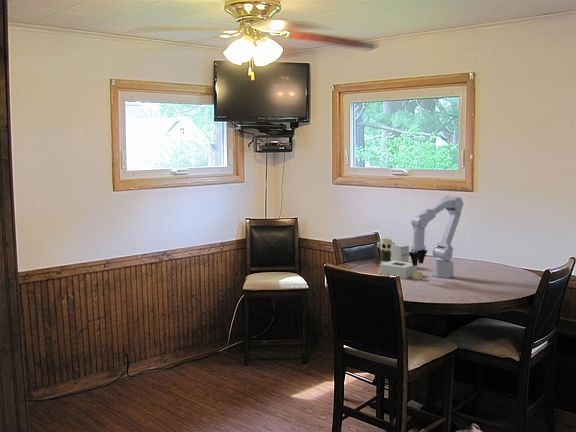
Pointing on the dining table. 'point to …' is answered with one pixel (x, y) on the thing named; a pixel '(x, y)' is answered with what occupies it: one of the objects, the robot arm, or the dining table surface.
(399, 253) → the supplement box
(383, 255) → the character mug
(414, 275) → the wooden block
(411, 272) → the white square ring
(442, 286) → the dining table surface
